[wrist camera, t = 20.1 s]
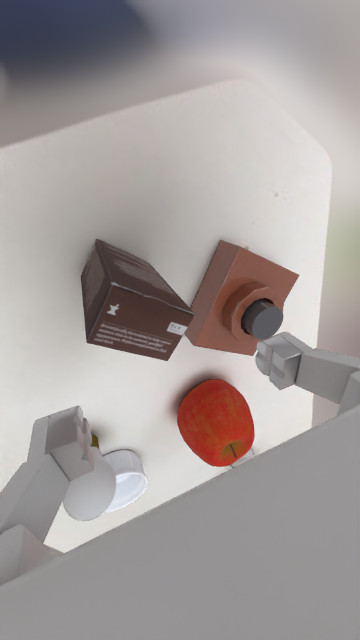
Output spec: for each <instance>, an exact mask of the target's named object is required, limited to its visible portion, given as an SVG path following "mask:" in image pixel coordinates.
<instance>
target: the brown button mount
mask: <svg viewBox="0 0 360 640" xmlns="http://www.w3.org/2000/svg"><path fill="white" fill-rule="evenodd" d="M298 277H299V275H298V274H296V273H294V272H292V271H290V270H288V269H286V268H284V267H282V266H280V265H277V264H275V263H273V262H271V261H269V260H267V259H265V258H263V257H261V256H259V255H257V254H255V253H252V252H250V251H248V250H246V249H244V248H242V247H240V246H237V245H234V244H231V243H228V242H225V241H222V240H221V241H220V243H219V245H218V247H217V250H216V252H215V254H214V256H213V259H212V261H211V263H210V265H209V268H208V270H207V272H206V274H205V277H204V279H203V281H202V284H201V286H200V288H199V290H198V293H197V295H196V297H195V299H194V302H193V304H192V306H191V308H190V309H191V310H192V311H193V312H194V314H195V316H194V318H193V319H192V321H191V323H190V324H189V326H188V327H187V329H186V331H185V332H184V334H185V335H186V336H187V338H188V339H189V340H190V342H191V343H192V344H193V346H198V347H204V348H210V349H215V350H221V351H227V352H233V353H239V354H244V355H250V356H253V355H254V353H255V352H256V350H257V349H256V346H257V343H258V341H261V340H259V339H256V338H255V337H254V336H252V335H251V334H250V333H249V332H248V331H246V330H245V329H244V328H243V326H242V324H241V318H242V315H243V314H244V312H245V310H246V308H247V307H248V306H249V305H251V304H252V303H253V302H254V301H256V300H260V299H263V300H266V301H268V302H270V303H271V304H273V305H275V306H277V307H278V308H280V309H281V311H282V313H283V306H284V301H285V299H286V298H287V296H288V294H289V292H290V291H291V289H292V287H293V286H294V284H295V282H296V280H297V279H298Z"/></svg>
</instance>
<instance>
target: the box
mask: <svg viewBox="0 0 360 640" xmlns="http://www.w3.org/2000/svg"><path fill="white" fill-rule="evenodd" d="M81 283H82V295H83V307H84V317H85V330H86V340H87V343H90V344H94V345H99V346H103V347H108V348H112V349H116V350H121V351H125V352H130V353H134V354H139V355H143V356H148V357H152V358H157V359H161V360H165V361H168V359H169V358H170V356H171V354H172V353H173V351H174V349H175V348H176V346H177V344H178V343H179V341H180V339H181V338H182V336H183V334H184V332H185V331H186V329H187V327H188V326H189V324H190V323H191V321H192V319H193V318H194V316H195V314H194V312H193V311H192V310H191V309H190V308H189V307H188V306H187V305H186V304H185V302H184V301H183V300H182V299H181V298H180V297H179V296H178V295H177V294H176V293H175V292H174V290H173V289H172V288H171V287H170V286H169V285H168V284H167V283H166V281H165V280H164V279H163V278H162V277H161V276H160V275H159V274H158V273H157V272H156V270H155V269H154V268H153V267H152V266H151V265H150V264H149V263H147V262H146V261H144V260H142V259H139V258H137V257H135V256H133V255H131V254H129V253H127V252H125V251H123V250H120V249H118V248H116V247H114V246H112V245H110V244H107V243H105V242H103V241H101V240H98V239H96V241H95V243H94V245H93V247H92V250H91V253H90V255H89V257H88V260H87V263H86V265H85V268H84V270H83V272H82V275H81Z"/></svg>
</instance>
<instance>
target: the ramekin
mask: <svg viewBox="0 0 360 640" xmlns="http://www.w3.org/2000/svg"><path fill="white" fill-rule="evenodd" d="M103 458H104V459H105V461H106V462H108V463H109V464H110V465H111V467H112V468H113V470H114V472H115V476H116V491H115V495H114V498H113V500H112V502H111V504H110V505H109V507H108V508H107V509H106V510H105V511H104V512H103V513H106V512H112V511H115V510H119V509H121V508H124V507H125V506H127V505H129V504H131V503H132V502H134V501H135V500H136V499H138V498H139V497H140V496H141V495H142V494H143V492H144V491H145V489H146V488H147V485H148V479H147V476H146V474H145V473H144V471H143V468H142V465H141V462H140V459H139V457H138V456H137V454H135V453H134V452H132V451H128V450H120V451H115V452H112V453H109V454H107V455H105V456H103Z"/></svg>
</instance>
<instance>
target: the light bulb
mask: <svg viewBox="0 0 360 640" xmlns="http://www.w3.org/2000/svg"><path fill="white" fill-rule="evenodd" d="M90 449H91V450H92V452H93V462H94V470H93V471H91V472H89V473H87V474H85V475H83V476H80V477H78V478H76V479H74V480H72V481H70V485H69V487H68V489H67V491H66V494H65V496H64V498H63V500H62V501H63V505H64V508H65V510H66V512H67V513H68V514H69V515H70V516H71V517H72V518H74V519H76V520H79V521H89V520H92V519H95V518H97V517H98V516H100V515H101V514H102V513H103V512H104V511H105V510H106V509H107V508H108V507H109V505H110V504H111V502H112V500H113V498H114V495H115V491H116V476H115V472H114V470H113V468H112V467H111V465H110V464H109V463H108V462H106V461H105V459H104V458H103V456H102V453H101V451H100V450H99V444H98V438H97V437H96V436H95V435H92V444H91V446H90Z"/></svg>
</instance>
